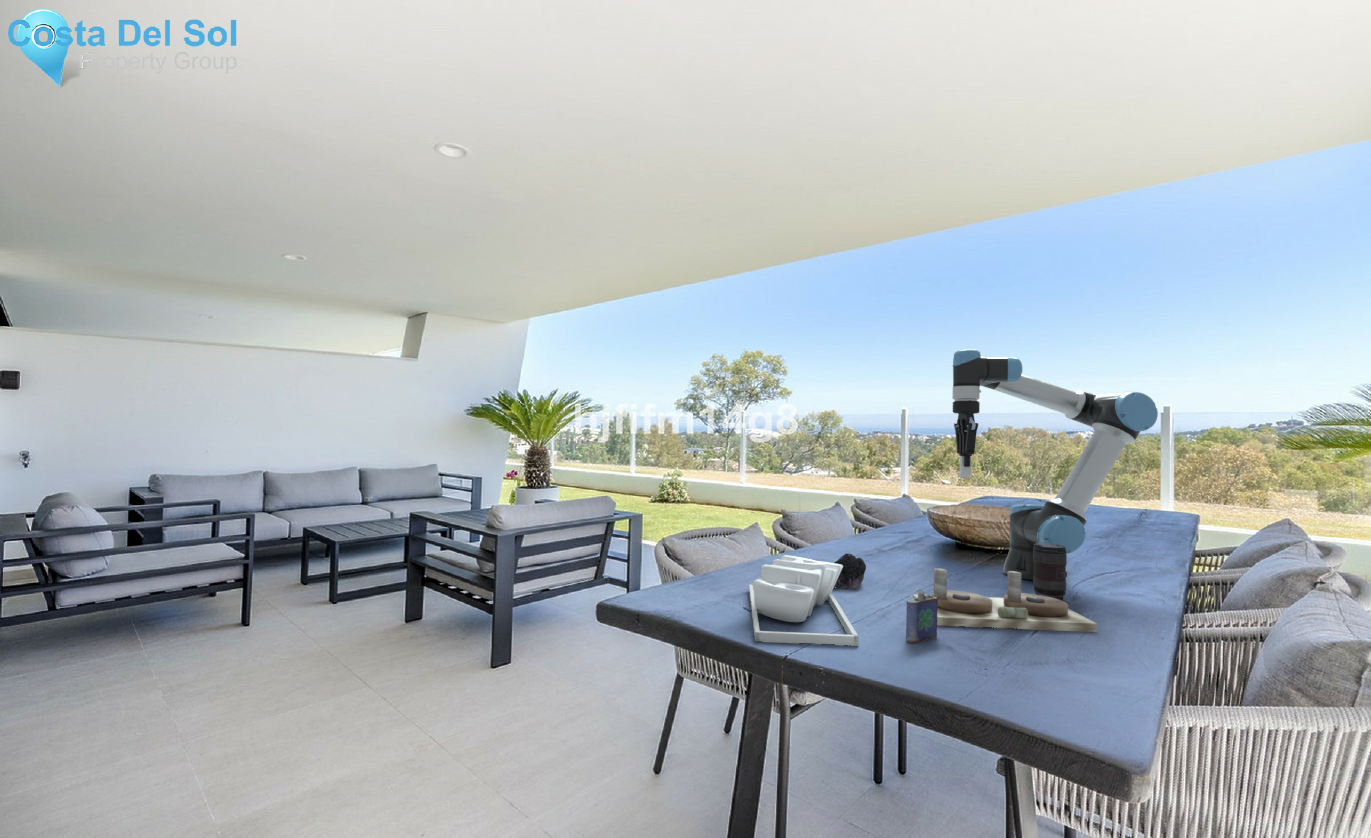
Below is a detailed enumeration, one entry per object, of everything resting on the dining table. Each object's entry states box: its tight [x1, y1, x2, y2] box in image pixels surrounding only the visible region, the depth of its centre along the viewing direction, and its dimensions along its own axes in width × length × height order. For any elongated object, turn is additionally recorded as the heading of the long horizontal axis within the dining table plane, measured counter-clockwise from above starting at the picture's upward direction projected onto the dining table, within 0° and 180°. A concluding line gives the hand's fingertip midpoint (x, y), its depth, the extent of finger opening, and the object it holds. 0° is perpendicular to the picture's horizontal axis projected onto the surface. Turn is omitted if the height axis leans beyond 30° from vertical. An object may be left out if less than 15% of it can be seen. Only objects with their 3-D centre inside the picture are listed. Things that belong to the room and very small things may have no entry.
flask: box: [905, 589, 938, 644], centre depth 135 cm, size 9×3×11 cm, turn 121°
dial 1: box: [931, 568, 992, 613], centre depth 154 cm, size 14×14×9 cm
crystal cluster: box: [833, 553, 867, 590], centre depth 182 cm, size 13×14×10 cm
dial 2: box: [1003, 571, 1069, 616], centre depth 152 cm, size 14×14×9 cm
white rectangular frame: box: [748, 583, 860, 647], centre depth 151 cm, size 22×41×2 cm, turn 176°
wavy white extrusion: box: [753, 554, 843, 623], centre depth 155 cm, size 35×16×11 cm, turn 149°
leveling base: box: [912, 593, 1098, 633], centre depth 153 cm, size 36×20×4 cm, turn 86°
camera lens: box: [1032, 543, 1068, 601], centre depth 170 cm, size 8×8×15 cm
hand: (965, 477), depth 186 cm, fingers closed
